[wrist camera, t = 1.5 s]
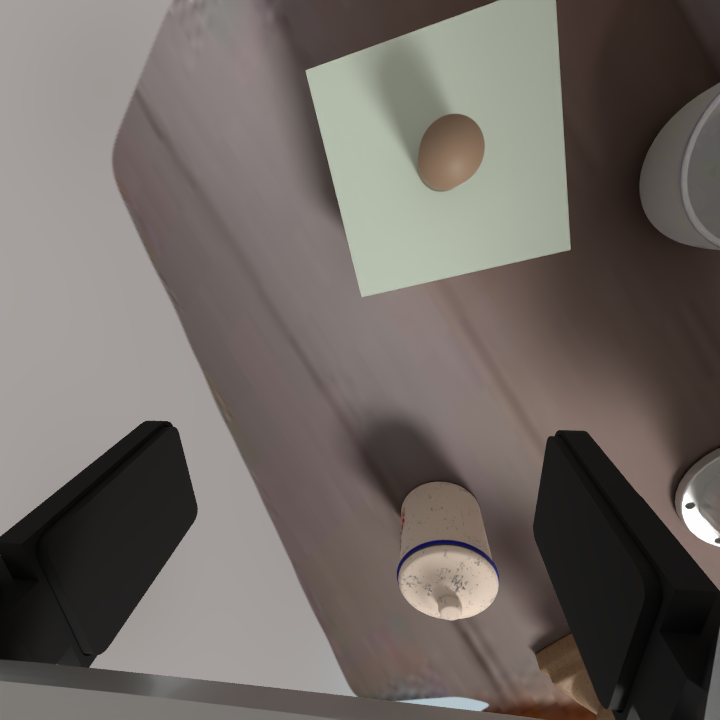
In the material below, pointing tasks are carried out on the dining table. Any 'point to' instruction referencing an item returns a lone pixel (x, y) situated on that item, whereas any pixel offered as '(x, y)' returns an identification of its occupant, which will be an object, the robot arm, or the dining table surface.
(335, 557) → the dining table surface
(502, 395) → the dining table surface
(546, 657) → the candle holder
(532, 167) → the lid
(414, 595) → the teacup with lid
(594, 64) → the dining table surface
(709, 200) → the teacup
